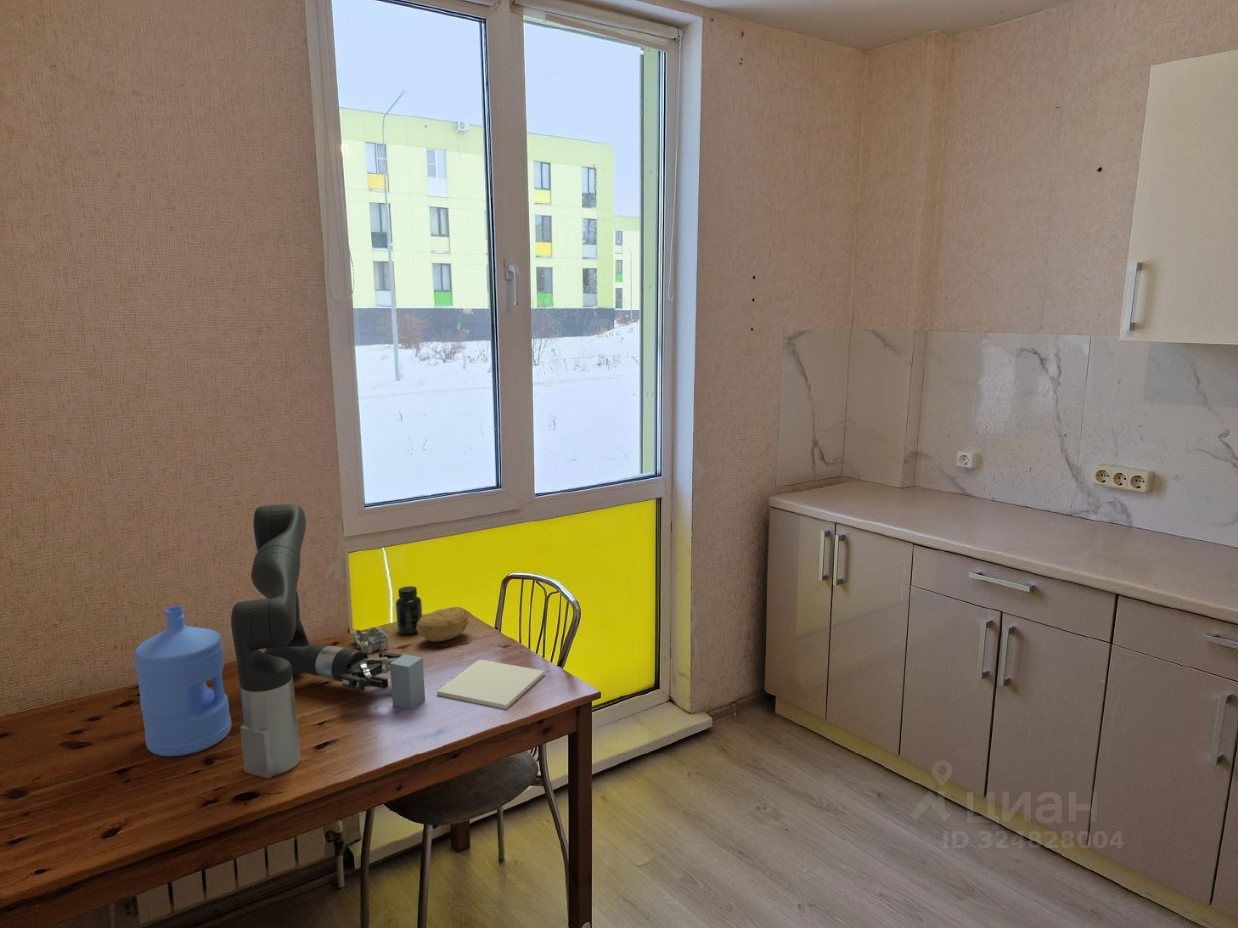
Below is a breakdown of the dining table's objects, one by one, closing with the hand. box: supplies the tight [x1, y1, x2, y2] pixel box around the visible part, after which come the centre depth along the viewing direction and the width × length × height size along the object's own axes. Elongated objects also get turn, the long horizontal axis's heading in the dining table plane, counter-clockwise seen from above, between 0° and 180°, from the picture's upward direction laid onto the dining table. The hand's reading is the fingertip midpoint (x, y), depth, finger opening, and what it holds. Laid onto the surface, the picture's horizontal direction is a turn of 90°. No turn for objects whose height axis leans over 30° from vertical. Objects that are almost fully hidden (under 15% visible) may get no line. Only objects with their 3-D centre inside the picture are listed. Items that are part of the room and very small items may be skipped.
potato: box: [416, 606, 469, 643], centre depth 212 cm, size 10×14×8 cm
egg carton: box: [351, 626, 389, 655], centre depth 210 cm, size 11×8×4 cm
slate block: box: [389, 654, 426, 710], centre depth 178 cm, size 5×5×10 cm
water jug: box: [134, 606, 232, 757], centre depth 163 cm, size 16×16×28 cm
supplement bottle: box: [395, 585, 423, 636], centre depth 218 cm, size 7×7×12 cm
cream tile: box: [436, 659, 545, 710], centre depth 187 cm, size 18×18×1 cm
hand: (399, 675), depth 179 cm, fingers open, 8 cm apart
